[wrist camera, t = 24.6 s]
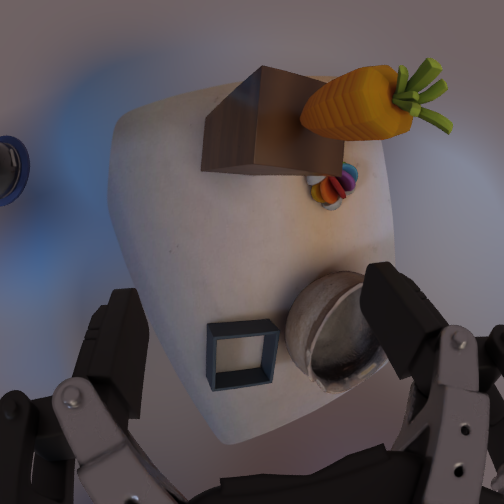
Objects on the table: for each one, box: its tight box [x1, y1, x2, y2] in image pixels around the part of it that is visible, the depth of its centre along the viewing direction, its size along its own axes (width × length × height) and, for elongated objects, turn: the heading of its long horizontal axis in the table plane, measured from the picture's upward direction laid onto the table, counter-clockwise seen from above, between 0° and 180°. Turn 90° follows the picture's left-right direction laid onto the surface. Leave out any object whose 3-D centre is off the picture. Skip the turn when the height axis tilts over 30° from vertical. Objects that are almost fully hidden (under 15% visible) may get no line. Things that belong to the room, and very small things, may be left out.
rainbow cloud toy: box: [307, 162, 358, 210], centre depth 50 cm, size 8×10×7 cm
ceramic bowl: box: [285, 271, 388, 394], centre depth 53 cm, size 22×22×15 cm
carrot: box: [300, 58, 453, 141], centre depth 17 cm, size 5×5×15 cm
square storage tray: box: [206, 319, 280, 392], centre depth 53 cm, size 12×12×5 cm
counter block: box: [201, 66, 344, 177], centre depth 35 cm, size 9×9×24 cm
